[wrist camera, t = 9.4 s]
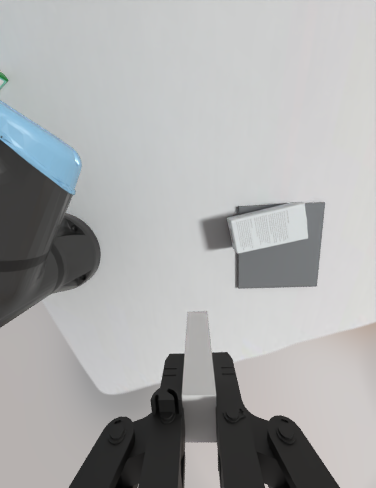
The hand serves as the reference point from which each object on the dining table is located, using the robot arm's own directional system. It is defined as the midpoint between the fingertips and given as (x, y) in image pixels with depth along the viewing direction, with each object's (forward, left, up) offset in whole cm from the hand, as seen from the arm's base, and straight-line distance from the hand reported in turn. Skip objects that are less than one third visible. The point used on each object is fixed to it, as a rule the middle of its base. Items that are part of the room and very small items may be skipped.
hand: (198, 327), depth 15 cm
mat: (+15, 0, -24) cm, 29 cm away
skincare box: (+6, +3, -22) cm, 22 cm away
